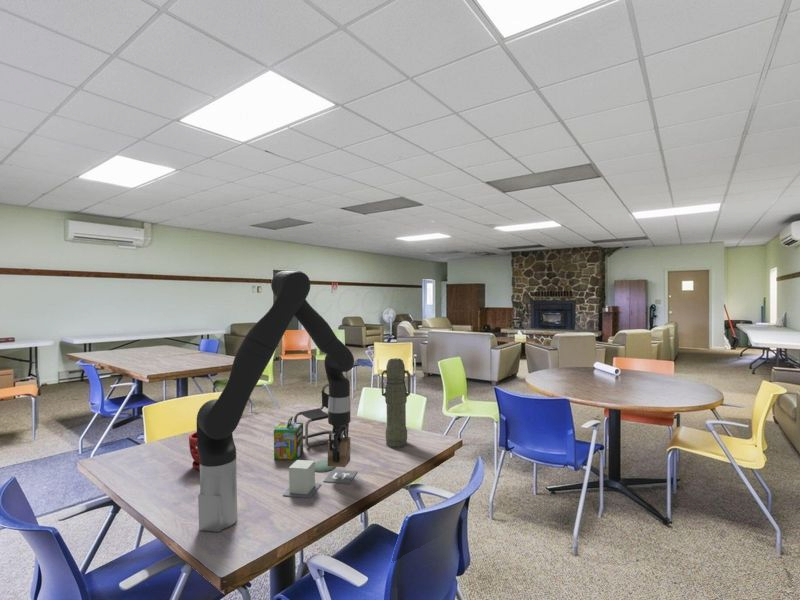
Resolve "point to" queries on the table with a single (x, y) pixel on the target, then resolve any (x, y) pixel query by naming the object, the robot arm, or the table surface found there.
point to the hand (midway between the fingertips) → (339, 458)
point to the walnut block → (343, 454)
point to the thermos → (396, 403)
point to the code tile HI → (303, 494)
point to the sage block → (301, 476)
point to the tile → (340, 476)
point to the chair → (315, 418)
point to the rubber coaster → (322, 466)
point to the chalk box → (288, 440)
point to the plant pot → (194, 450)
